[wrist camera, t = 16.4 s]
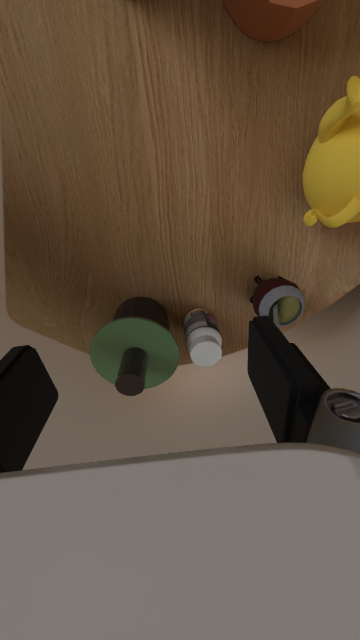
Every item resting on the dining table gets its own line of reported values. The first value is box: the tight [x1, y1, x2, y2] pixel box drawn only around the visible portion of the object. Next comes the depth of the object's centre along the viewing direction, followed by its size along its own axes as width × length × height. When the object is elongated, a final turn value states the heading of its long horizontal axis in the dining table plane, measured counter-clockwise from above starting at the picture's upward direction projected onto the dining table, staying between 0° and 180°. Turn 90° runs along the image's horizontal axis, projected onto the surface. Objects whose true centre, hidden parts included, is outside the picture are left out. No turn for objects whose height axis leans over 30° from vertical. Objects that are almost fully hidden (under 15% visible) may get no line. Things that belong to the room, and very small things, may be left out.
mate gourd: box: [250, 276, 305, 329], centre depth 34 cm, size 8×8×15 cm
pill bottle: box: [184, 308, 222, 367], centre depth 39 cm, size 6×6×10 cm
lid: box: [90, 317, 179, 396], centre depth 32 cm, size 13×13×7 cm
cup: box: [112, 297, 169, 331], centre depth 39 cm, size 10×10×9 cm
